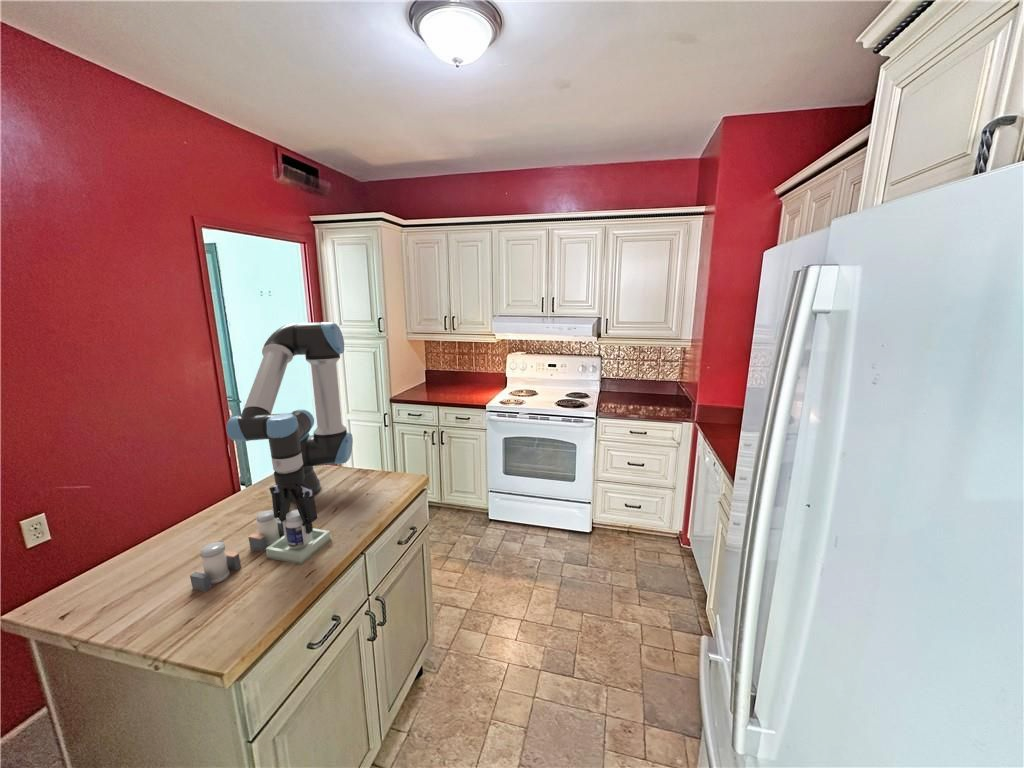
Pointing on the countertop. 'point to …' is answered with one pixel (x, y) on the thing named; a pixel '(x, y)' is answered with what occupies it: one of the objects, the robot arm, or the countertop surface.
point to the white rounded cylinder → (215, 562)
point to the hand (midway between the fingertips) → (299, 540)
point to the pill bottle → (294, 529)
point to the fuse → (268, 526)
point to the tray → (298, 555)
